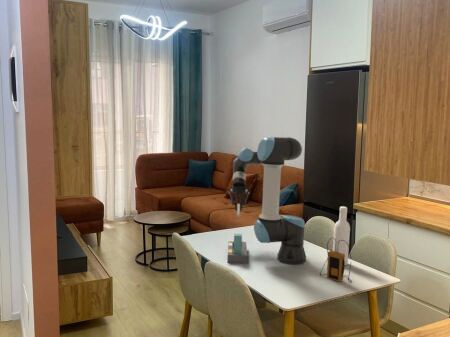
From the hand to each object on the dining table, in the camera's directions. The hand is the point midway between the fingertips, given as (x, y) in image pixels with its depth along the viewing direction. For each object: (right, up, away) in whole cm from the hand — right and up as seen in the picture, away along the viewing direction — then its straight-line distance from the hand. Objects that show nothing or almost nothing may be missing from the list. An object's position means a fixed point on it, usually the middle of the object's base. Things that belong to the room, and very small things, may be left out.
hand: (238, 215), depth 246 cm
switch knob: (-1, -19, -14) cm, 24 cm away
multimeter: (+47, -26, -35) cm, 64 cm away
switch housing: (-1, -21, -8) cm, 22 cm away
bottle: (+53, -24, -15) cm, 60 cm away
